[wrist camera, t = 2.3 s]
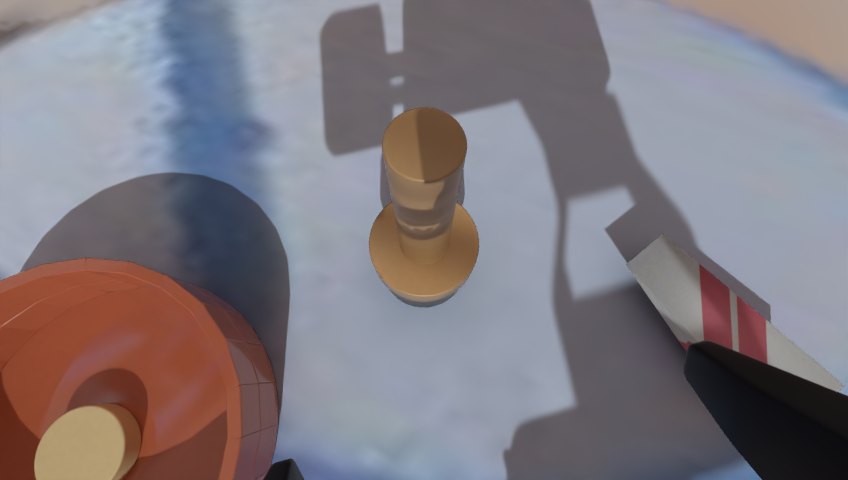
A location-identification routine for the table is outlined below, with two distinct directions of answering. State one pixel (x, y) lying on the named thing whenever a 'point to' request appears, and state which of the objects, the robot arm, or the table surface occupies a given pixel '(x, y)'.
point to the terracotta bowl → (135, 369)
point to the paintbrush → (716, 312)
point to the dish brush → (424, 210)
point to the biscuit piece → (89, 445)
